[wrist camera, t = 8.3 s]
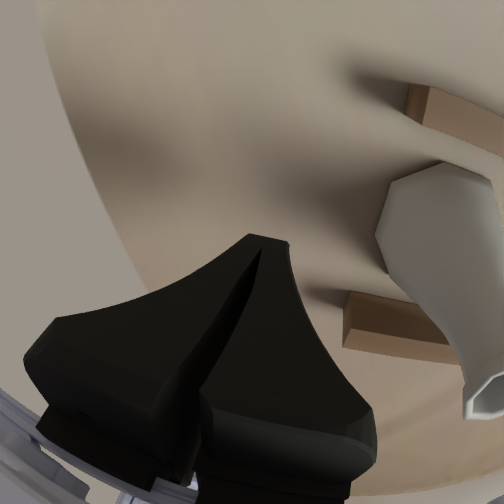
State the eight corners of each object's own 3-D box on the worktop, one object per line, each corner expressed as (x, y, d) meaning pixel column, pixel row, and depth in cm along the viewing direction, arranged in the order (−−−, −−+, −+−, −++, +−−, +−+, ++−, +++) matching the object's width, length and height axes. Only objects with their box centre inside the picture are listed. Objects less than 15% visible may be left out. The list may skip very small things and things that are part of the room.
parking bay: (503, 338, 16) (514, 369, 14) (343, 309, 18) (342, 347, 16) (587, 174, 9) (615, 195, 7) (410, 83, 11) (430, 86, 8)
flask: (484, 280, 15) (540, 426, 7) (373, 288, 17) (381, 457, 9) (502, 161, 11) (631, 282, 3) (370, 162, 13) (421, 315, 5)
